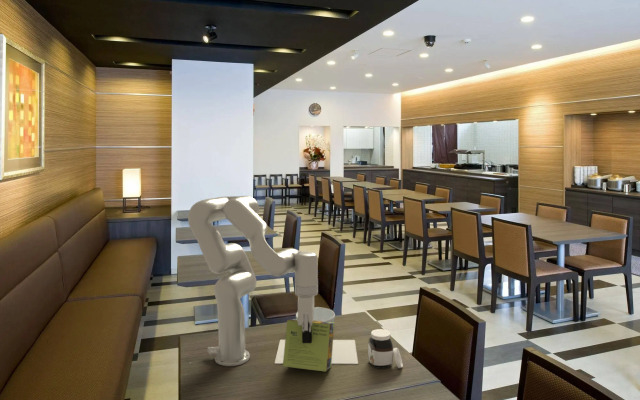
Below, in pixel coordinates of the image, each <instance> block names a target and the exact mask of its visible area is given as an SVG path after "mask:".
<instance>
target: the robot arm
mask: <svg viewBox="0 0 640 400" xmlns="http://www.w3.org/2000/svg"><path fill="white" fill-rule="evenodd" d="M259 211H260V205H259V203H258V201H257V200H256V199H255V198H253V196H249V195H240V196H232V195H231V196H218V197H213V198H212V197H211V198H207V199H201V200H199V201H197V202H195V203H193V204H192V206H191V207H190V209H189V211H188V215H187V222H188V225H189V229H190V230H191V232H192V234H193V237H195V239H196V241H197V243H198V245H199V246H198V247H199V249H200V250H201V254H202V255H203V257H204V260H205V263H206V265H207V267H208V269H209V270H210V272H212V273H213V274H216V275H217V274H218V275H219V274H222V273H225V272H228V271H229V272H230V273H228V274H226V275H224V276H222V277H220V278H219V279H218V280H217V281H216V282H215V284H214V289H213V291H214V296H215V300H216V307H217V322H218V323H217V325H218V326H217V328H218V329H217V330H218V346H217V345H216V346H207V353H208V354H209V355H211V356H213V355H215V357H214V361H215V363H216V364H218V365H220V366H223V367H236V366H240V365H243V364H245V363H247V362H248V361H249V360H250V357H251V353H250V352H249V350H246V324H245V323H246V321H245V319H246V318H245V317H246V316H245V308H244V305H243V304H242V301H241V299H242V298H243V297H245V296H246V295H249V294H250V293H252V292H253V291H254V290H255V289H256V287H257V278H256V274H255V271H254V269H253V267H252V265H251V262H250V259H249V257H248V256H247V254H246V251H245V250H244V249H243V247H242V246H241V245H240V244H239V243H235V242H230V243H225V241H224V239H223V237H222V235H221V233H220V231H219V230H218V229H217V228H216V227H215V226H214V225H213V224H212V223H214V222H218V221H221V220H222V221H223V220H228V222H230V223H231V224H232V225H233V226H234V227H235V229H236V230H237V231H238V232H240V233H241V234H242V236H243V237H245V239H246V240H247V241H248V242H249V247H250V251H251V252H250V253H251V254H252V256H253V258H254V260H255V262H256V263H257V264H258V265H259V266H260V267H262V269H263V270H264V271H265V272H267V273H268V274H269V275H271V276H273V277H282V276H284V275H286V274H288V273H290V272H294V290H295V291H294V292H295V293H294V294H295V296H297V297H298V298H297V312H298V326H300V325H302V327H303V330H302V343H312V330H311V326H312V324H313V317H314V307H315V296H317V295H318V294H319V278H318V277H319V276H318V275H319V272H318V271H319V270H318V267H319V266H318V265H319V264H318V261H319V260H318V259H319V258H318V254H317V253H315V252H313V251H302V250H298V249H296V248H289V247H288V248H286V249H283V250H280V251H275V250H274V249H273V248H272V247H271V246H270V245H269V244H268V242H267V241H266V238H265V234H266V232H267V230H268V224H267V223H266V221H264V220H263V219H262V217H260V215H258V214H259Z"/></svg>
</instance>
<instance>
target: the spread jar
mask: <svg viewBox="0 0 640 400" xmlns="http://www.w3.org/2000/svg"><path fill="white" fill-rule="evenodd" d="M370 332H371V333H370V337H369V339H368V345H367V346H368V347H367V353H368V354H367V356H368V361H369V364H370V365H371V366H372V367H373V368H376V369H387V368H389V367H390V366H392V365H393V363H394V362H395V364H396V366H397V369H401V368H403V366H404V365H403V360H402V355H401V352H400V349H399V348H398V347H394V346H393V341H392V339H391V332H390V331H389V330H387V329H381V328H376V329H373V330H372V331H370Z"/></svg>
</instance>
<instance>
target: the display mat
mask: <svg viewBox="0 0 640 400" xmlns="http://www.w3.org/2000/svg"><path fill="white" fill-rule="evenodd" d="M284 349H285V339H280V340H279V343H278V348H277V352H276V356H275V360H274V364H275V365H283V359H284ZM331 365H359V360H358V353H357V347H356V340H355V339H333V348H332V363H331Z"/></svg>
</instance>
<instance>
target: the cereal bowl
mask: <svg viewBox="0 0 640 400" xmlns="http://www.w3.org/2000/svg"><path fill="white" fill-rule="evenodd" d="M295 319H298V311H297V312H296V313H295ZM313 321H323V322H334V323H335V321H336V314H335V312H334V311H333V310H332V309H330V308H327V307H326V308H325V307H320V306H316V307H315V306H314V317H313Z"/></svg>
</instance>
